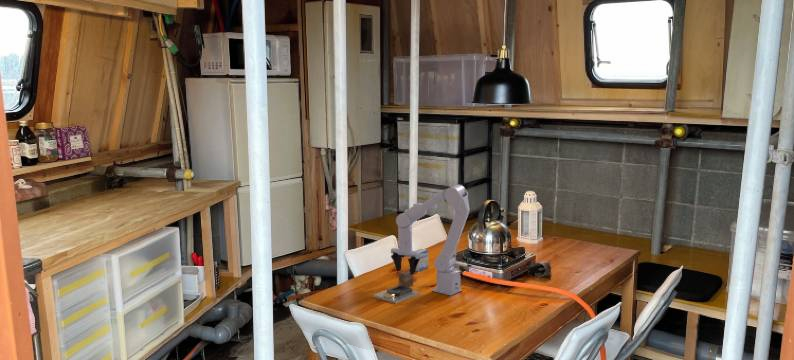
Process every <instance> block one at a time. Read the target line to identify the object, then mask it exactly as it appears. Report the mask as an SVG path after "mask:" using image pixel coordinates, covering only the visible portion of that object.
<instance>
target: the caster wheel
mask: <svg viewBox="0 0 794 360" xmlns="http://www.w3.org/2000/svg"><path fill="white" fill-rule="evenodd" d="M527 271H528V274H534V275H535V277H538V278H541V277H548V276H551V277H552V266H551V262H550V260H547V261H539V262H537V261H536V262H534V263H533V265H531V266H527Z"/></svg>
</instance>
